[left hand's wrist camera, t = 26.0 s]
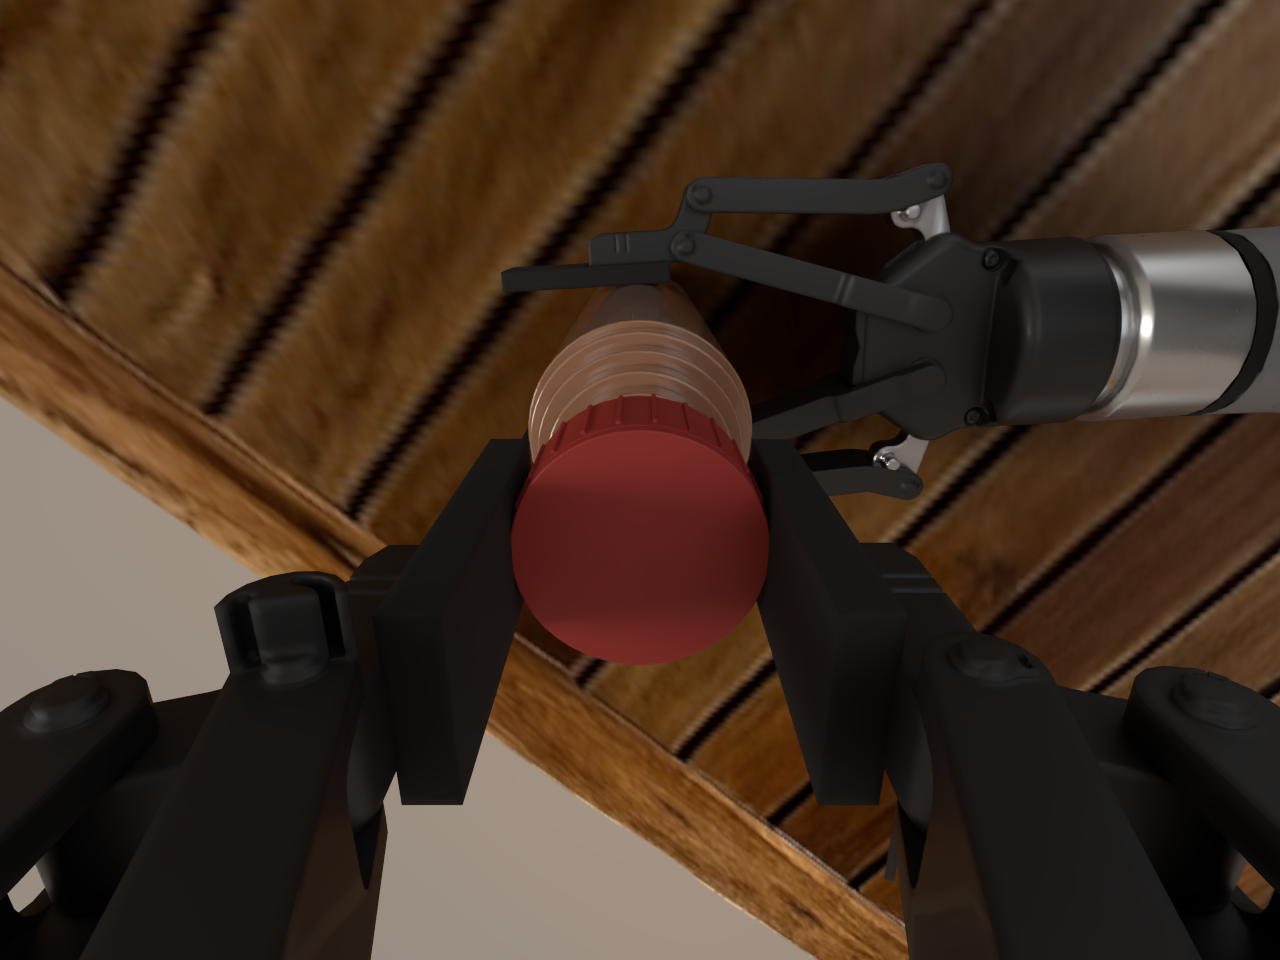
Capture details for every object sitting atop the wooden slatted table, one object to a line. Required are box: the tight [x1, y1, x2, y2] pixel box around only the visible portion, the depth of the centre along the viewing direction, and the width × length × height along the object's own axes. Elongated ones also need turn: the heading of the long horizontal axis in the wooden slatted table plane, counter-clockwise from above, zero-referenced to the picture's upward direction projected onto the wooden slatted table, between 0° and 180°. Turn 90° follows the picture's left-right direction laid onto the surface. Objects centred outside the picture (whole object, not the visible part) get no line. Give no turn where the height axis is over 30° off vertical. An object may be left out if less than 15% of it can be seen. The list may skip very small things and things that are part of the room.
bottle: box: [528, 279, 752, 465], centre depth 24 cm, size 6×6×24 cm
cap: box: [511, 394, 770, 665], centre depth 13 cm, size 5×5×2 cm
